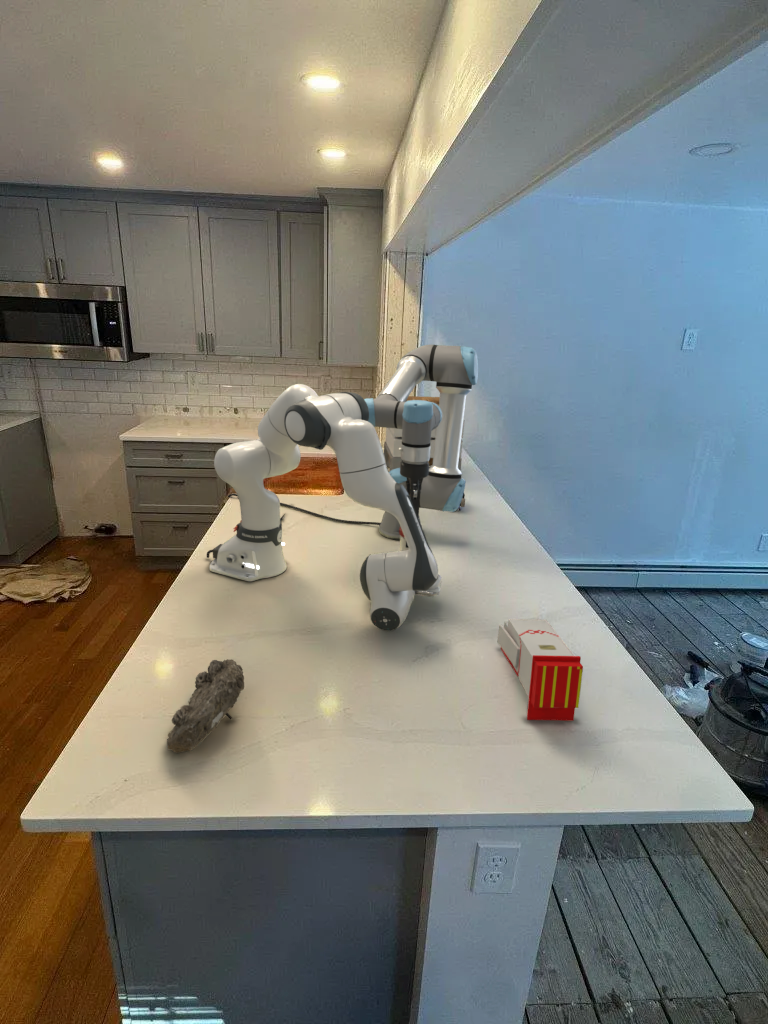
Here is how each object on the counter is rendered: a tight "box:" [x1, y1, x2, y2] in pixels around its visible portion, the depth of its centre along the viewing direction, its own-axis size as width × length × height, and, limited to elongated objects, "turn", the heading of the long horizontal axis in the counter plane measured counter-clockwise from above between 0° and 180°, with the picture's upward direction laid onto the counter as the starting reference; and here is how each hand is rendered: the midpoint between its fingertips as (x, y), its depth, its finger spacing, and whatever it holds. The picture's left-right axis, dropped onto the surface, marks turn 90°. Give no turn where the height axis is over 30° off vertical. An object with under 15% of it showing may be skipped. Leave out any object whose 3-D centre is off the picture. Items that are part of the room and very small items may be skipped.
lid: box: [399, 526, 405, 537], centre depth 155 cm, size 6×6×2 cm
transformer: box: [383, 395, 465, 472], centre depth 268 cm, size 34×33×41 cm
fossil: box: [166, 658, 245, 754], centre depth 106 cm, size 22×10×15 cm
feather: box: [280, 513, 286, 523], centre depth 210 cm, size 2×28×2 cm
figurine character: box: [457, 492, 466, 511], centre depth 229 cm, size 7×8×15 cm
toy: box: [497, 618, 584, 722], centre depth 122 cm, size 12×13×30 cm
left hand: (408, 568), depth 160 cm, fingers closed on jar, 5 cm apart
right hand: (409, 542), depth 156 cm, fingers closed on lid, 6 cm apart
